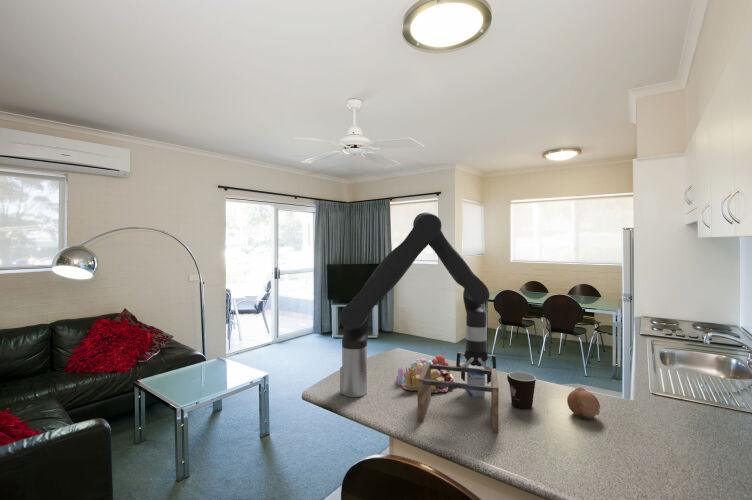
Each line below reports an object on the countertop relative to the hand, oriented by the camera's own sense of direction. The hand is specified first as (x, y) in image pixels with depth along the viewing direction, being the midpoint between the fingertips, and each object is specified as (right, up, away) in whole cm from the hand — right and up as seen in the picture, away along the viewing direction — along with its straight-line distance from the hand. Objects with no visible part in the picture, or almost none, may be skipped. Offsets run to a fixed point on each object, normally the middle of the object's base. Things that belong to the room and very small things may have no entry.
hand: (475, 381), depth 130 cm
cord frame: (-10, -4, -17) cm, 20 cm away
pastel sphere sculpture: (-17, -5, +11) cm, 21 cm away
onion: (+29, -5, -18) cm, 34 cm away
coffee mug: (+13, -4, -9) cm, 16 cm away
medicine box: (0, -4, 0) cm, 4 cm away
